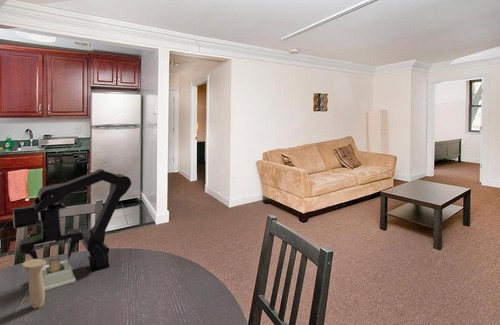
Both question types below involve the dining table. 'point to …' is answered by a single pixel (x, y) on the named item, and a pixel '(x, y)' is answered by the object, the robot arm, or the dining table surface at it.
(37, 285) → the handle
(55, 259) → the dowel
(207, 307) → the dining table surface
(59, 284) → the socket plate
